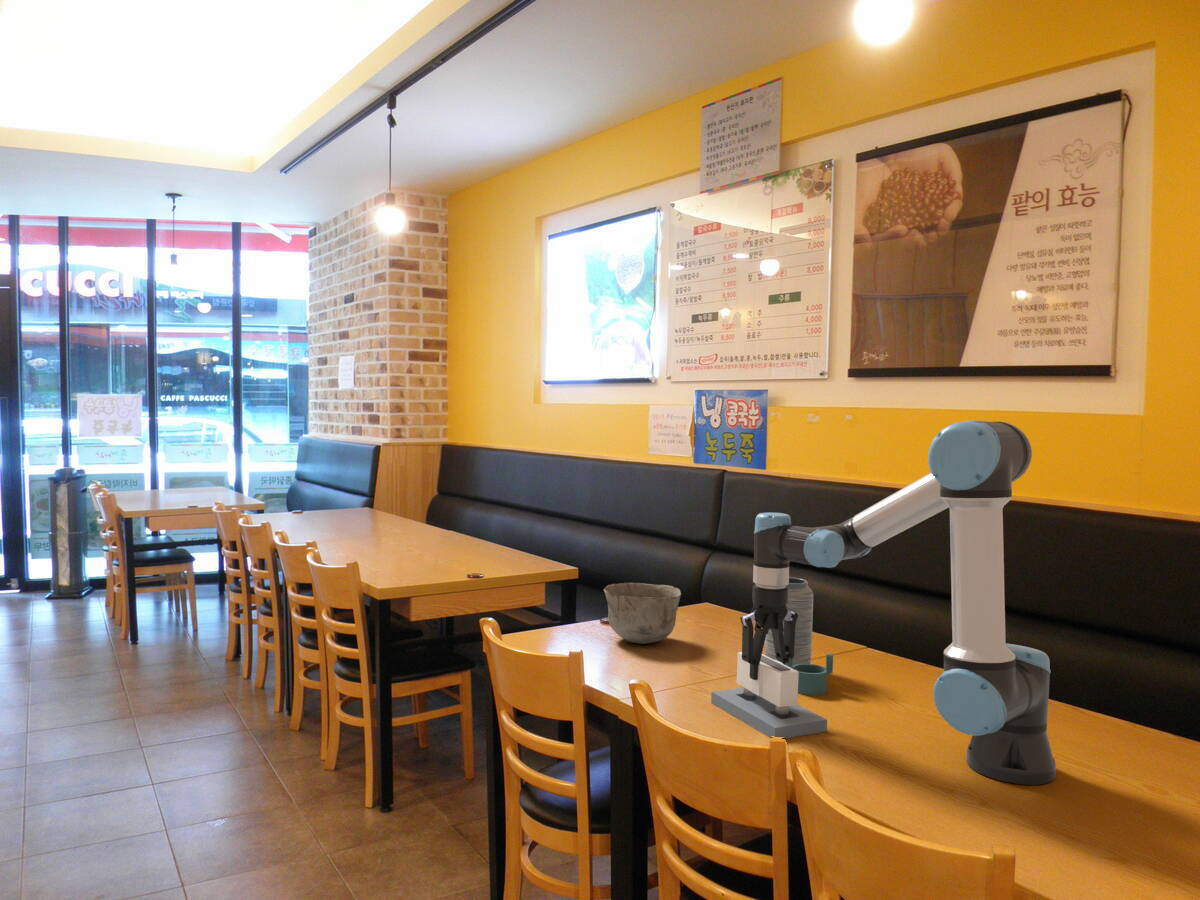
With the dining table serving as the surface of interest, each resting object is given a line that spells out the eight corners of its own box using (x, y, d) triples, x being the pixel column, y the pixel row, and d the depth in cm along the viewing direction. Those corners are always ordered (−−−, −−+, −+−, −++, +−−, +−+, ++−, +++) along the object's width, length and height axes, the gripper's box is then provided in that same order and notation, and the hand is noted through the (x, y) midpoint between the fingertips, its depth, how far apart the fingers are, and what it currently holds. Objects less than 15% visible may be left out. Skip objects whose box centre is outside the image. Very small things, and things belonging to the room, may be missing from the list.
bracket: (835, 692, 207) (836, 654, 207) (806, 697, 203) (807, 659, 202) (808, 682, 215) (809, 645, 215) (779, 687, 210) (781, 650, 210)
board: (826, 731, 181) (827, 719, 181) (774, 740, 176) (775, 727, 176) (759, 696, 203) (759, 685, 203) (711, 702, 198) (711, 691, 198)
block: (796, 713, 183) (798, 670, 183) (779, 716, 182) (780, 672, 181) (753, 689, 198) (754, 649, 197) (736, 692, 196) (737, 651, 196)
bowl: (607, 629, 261) (609, 579, 260) (681, 634, 258) (682, 583, 257) (597, 649, 239) (598, 595, 239) (677, 654, 236) (679, 599, 236)
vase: (795, 661, 232) (798, 575, 231) (819, 674, 221) (822, 583, 220) (756, 664, 228) (758, 576, 227) (778, 677, 217) (781, 585, 216)
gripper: (793, 579, 195) (789, 682, 196) (726, 584, 188) (722, 691, 189) (814, 586, 188) (810, 693, 190) (745, 591, 181) (742, 702, 182)
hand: (766, 692), depth 189 cm, fingers closed on block, 4 cm apart
